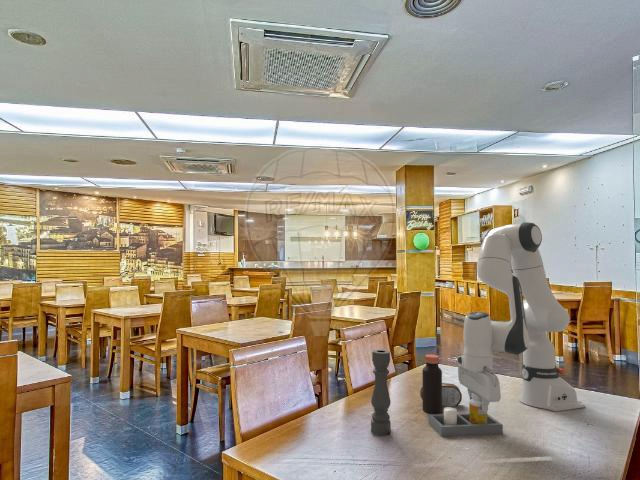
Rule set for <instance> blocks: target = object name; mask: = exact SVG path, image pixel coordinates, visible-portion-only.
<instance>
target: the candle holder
mask: <svg viewBox="0 0 640 480" xmlns="http://www.w3.org/2000/svg"><path fill="white" fill-rule="evenodd" d="M371 354H372V355H371V357H372V360H371V361H372V364H373V366H374V368H373V369H372V372H373V374H374V387H373V391H372V395H371V399H370V400H371V402H370V403H371V406H372V407H373V410H374V412H372V414H371V420H370V432H371V434H373V435H375V436H379V437H385V436H390V434H391V429H392V428H391V424H392V423H391V420H390V419H391V417H390V415H389V413H388V411H389V408H390V407H391V403H392V402H391V396H390V393H389V388H388V387H389V386H388V375H389V374H390V370H389V369H388V368H389V366H390V363H391V352H390V350H387V349H372V351H371Z"/></svg>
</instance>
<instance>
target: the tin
mask: <svg viewBox="0 0 640 480" xmlns="http://www.w3.org/2000/svg"><path fill="white" fill-rule="evenodd" d="M419 395H420V399H421V400H422V401H423V385H422V386H421V388H420V390H419ZM462 399H463V395H462V392H461V390H460V388H459V386H457V385H456V384H454V383H450V382H449V383H448V382H444V383H443V382H442V407H452V406H453V407H454V406H455V407H457V406H459V405H460V404H461V402H462Z"/></svg>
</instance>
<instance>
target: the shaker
mask: <svg viewBox="0 0 640 480" xmlns="http://www.w3.org/2000/svg"><path fill="white" fill-rule="evenodd" d="M443 414H444V426H447V425H457V414H458V409H457V408H454V407H452V406H445V407H444V408H443Z"/></svg>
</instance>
